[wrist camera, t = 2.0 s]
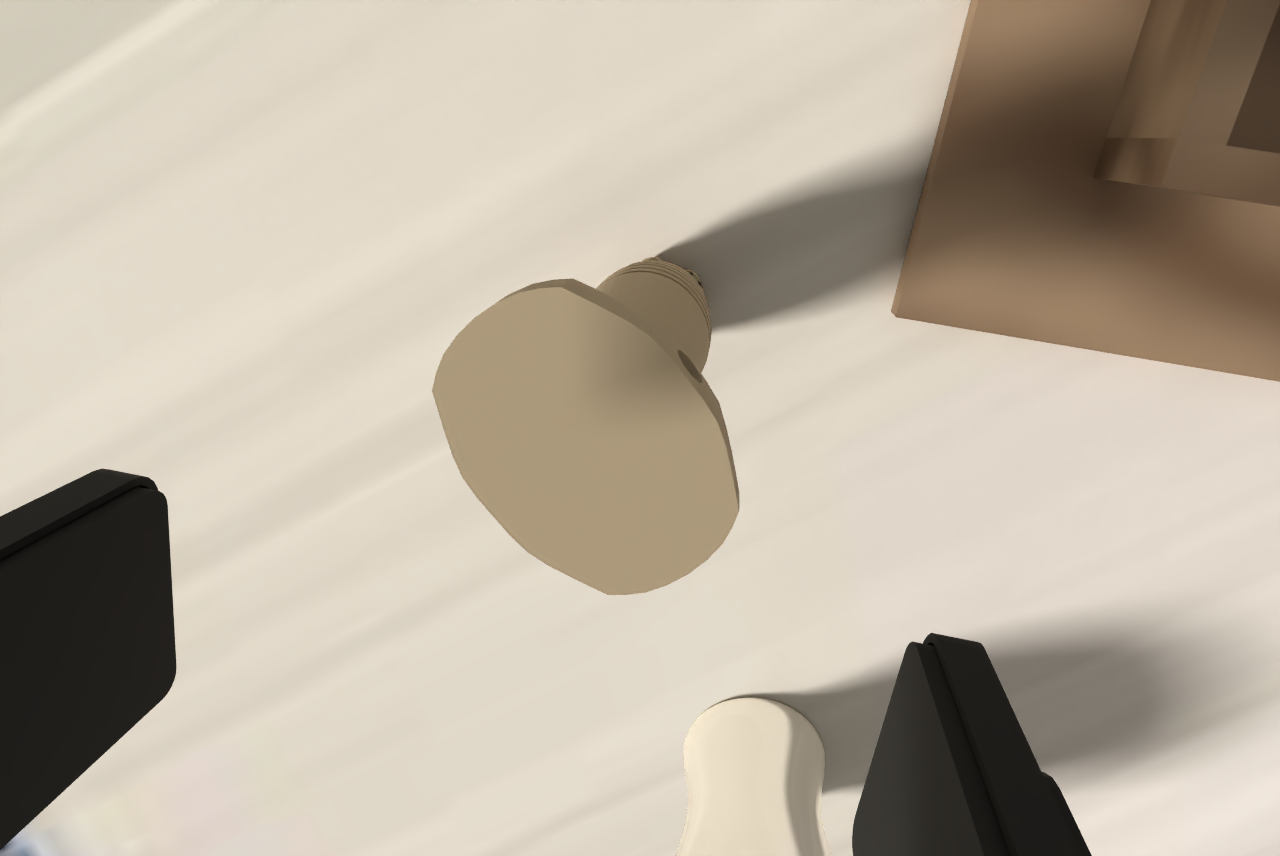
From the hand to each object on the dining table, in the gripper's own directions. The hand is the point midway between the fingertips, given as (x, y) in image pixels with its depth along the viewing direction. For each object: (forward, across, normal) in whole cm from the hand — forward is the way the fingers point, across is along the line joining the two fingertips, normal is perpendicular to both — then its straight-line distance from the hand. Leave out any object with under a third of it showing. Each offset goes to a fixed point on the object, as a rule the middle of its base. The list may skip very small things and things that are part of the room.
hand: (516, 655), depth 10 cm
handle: (+21, 0, -1) cm, 21 cm away
